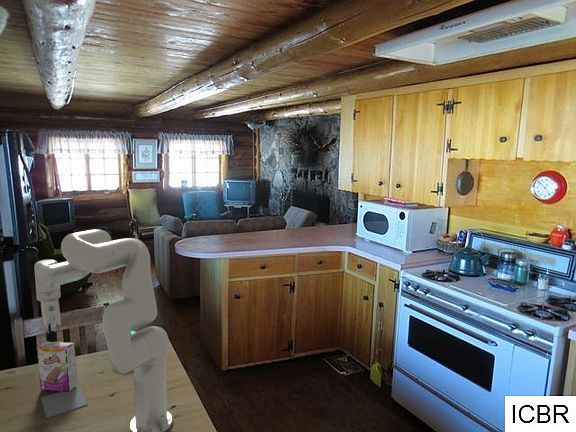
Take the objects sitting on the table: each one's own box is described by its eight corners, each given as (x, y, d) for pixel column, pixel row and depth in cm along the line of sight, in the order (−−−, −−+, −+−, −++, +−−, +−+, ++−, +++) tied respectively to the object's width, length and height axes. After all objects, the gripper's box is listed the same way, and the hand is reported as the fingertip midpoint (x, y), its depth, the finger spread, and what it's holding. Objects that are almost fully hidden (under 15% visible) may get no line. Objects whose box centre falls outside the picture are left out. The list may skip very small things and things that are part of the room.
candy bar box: (39, 391, 146) (35, 346, 144) (49, 383, 151) (45, 340, 149) (69, 392, 145) (66, 348, 143) (78, 385, 150) (74, 341, 148)
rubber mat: (87, 405, 139) (87, 404, 139) (46, 418, 132) (46, 417, 132) (79, 387, 150) (79, 386, 149) (40, 398, 142) (40, 397, 142)
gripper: (63, 298, 147) (67, 346, 150) (56, 286, 159) (60, 331, 162) (39, 302, 143) (43, 352, 146) (34, 290, 155) (37, 336, 158)
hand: (52, 341), depth 154 cm, fingers closed
